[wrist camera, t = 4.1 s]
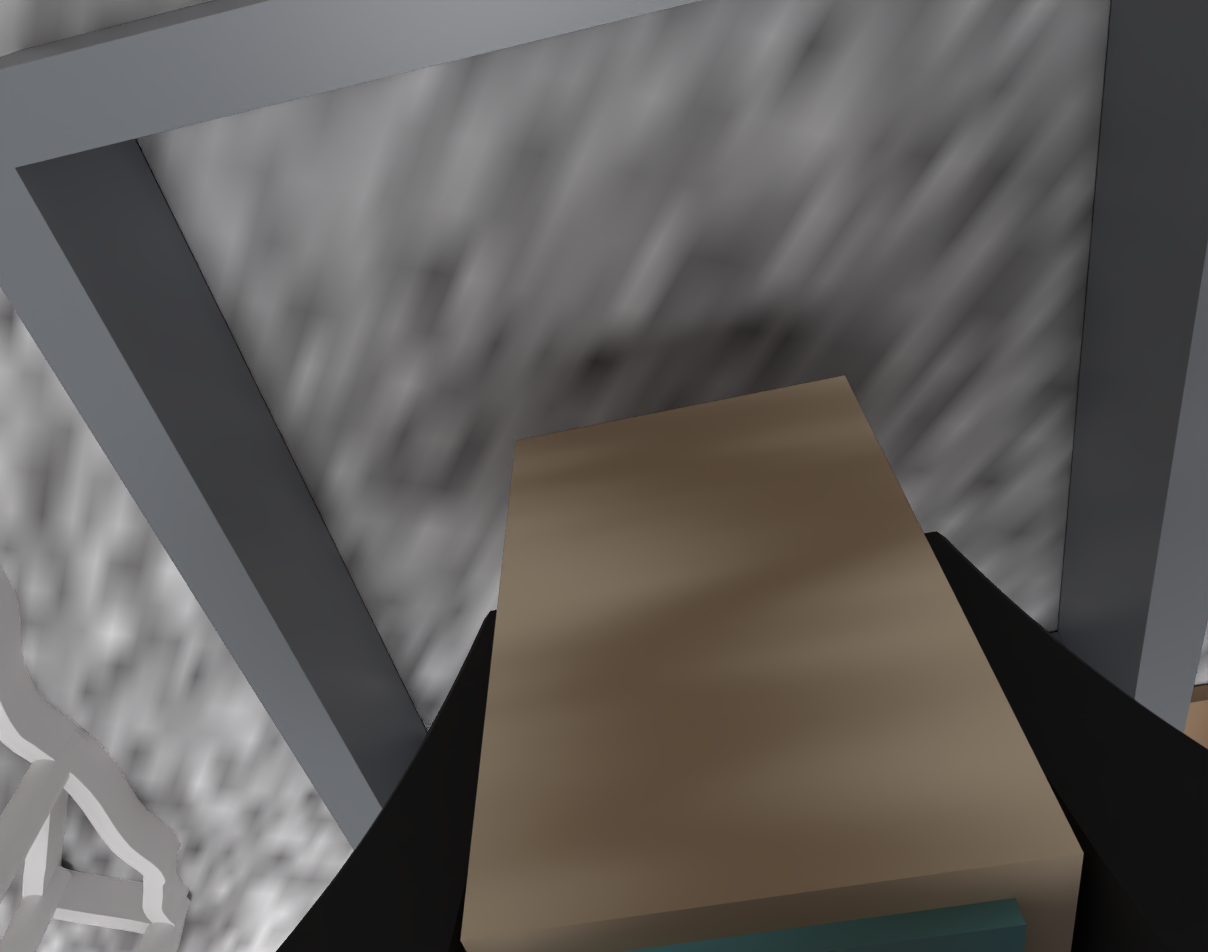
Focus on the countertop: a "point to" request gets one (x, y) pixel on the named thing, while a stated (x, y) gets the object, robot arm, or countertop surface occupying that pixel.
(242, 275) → the countertop surface
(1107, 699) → the robot arm
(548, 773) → the label box
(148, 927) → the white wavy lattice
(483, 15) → the bin
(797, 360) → the countertop surface
